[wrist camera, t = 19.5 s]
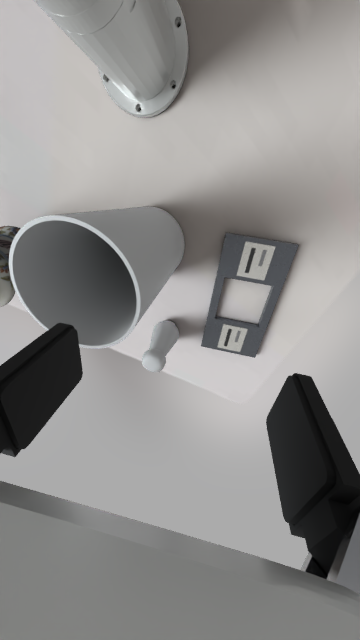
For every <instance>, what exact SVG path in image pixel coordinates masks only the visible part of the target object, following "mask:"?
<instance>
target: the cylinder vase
mask: <svg viewBox="0 0 360 640" xmlns="http://www.w3.org/2000/svg"><path fill="white" fill-rule="evenodd" d="M184 247H185V243H184V236H183V233H182V230H181V228H180V226H179V224H178V223H177V221H176V220H175V219H174V218H173V217H172V216H171V215H170V214H169V213H167V212H166V211H164V210H162V209H160V208H156V207H137V208H126V209H115V210H104V211H94V212H83V213H72V214H61V215H51V216H43V217H39V218H36V219H34V220H32V221H30V222H28V223H27V224H25V225H24V226H23V227H22V228H21V229H20V230H19V231H18V233H17V234H16V236H15V237H14V239H13V242H12V244H11V248H10V253H9V270H10V276H11V280H12V283H13V286H14V289H15V291H16V293H17V295H18V297H19V299H20V301H21V303H22V304H23V306H24V307H25V309H26V310H27V311H28V313H29V314H30V315H31V316H32V317H33V318H34V319H35V321H36V322H37V323H39V324H40V325H41V326H42V327H43V328H44V329H46V330H47V331H48V330H49V329H50V328H52V327H53V326H55V325H56V324H57V323H65V324H69V325H73V326H74V328H75V329H76V330H77V333H78V341H79V347H84V348H93V349H98V348H106V347H110V346H113V345H115V344H118V343H119V342H121V341H123V340H124V339H125V338H126V337H127V336H128V335H129V334H130V333H131V332H132V330H133V329H134V328H135V326H136V325H137V323H138V322H139V320H140V319H141V318H142V316H143V315H144V313H145V312H146V310H147V309H148V308H149V306H150V305H151V303H152V302H153V301H154V299H155V298H156V296H157V295H158V293H159V292H160V291H161V289H162V288H163V286H164V285H165V283H166V282H167V281H168V279H169V278H170V276H171V275H172V274H173V272H174V271H175V269H176V268H177V266H178V265H179V263H180V262H181V260H182V257H183V254H184Z"/></svg>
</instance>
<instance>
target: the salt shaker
mask: <svg viewBox="0 0 360 640" xmlns="http://www.w3.org/2000/svg"><path fill="white" fill-rule="evenodd" d="M178 338H179V330H178V329H177V327H176V325H175V323H173V322H171V321H169V320H166V321H163V322H159V323H158V324H157V325H155V327H154V329H153V333H152V338H151V344H150V348H149V350H148V351H146V352H145V353H144V355H143V358H142V365H143V366H144V367H145V369H147V370H149V371H151V372H159V371H161V370H162V369H163V368H164V366H165V363H166V358H165V356H166V354H167V353H168V352H169V351H170V349H171V348H172V347H173V345H174V344H175V343H176V342H177V340H178Z"/></svg>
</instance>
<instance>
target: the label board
mask: <svg viewBox="0 0 360 640" xmlns="http://www.w3.org/2000/svg"><path fill="white" fill-rule="evenodd" d="M298 246H299V245H297V244H294V243H288V242H282V241H275V240H269V239H263V238H257V237H251V236H245V235H239V234H233V233H226V235H225V239H224V244H223V249H222V253H221V258H220V262H219V267H218V271H217V276H216V280H215V285H214V289H213V294H212V298H211V303H210V307H209V312H208V317H207V321H206V326H205V330H204V335H203V339H202V344H201V346H203V347H207V348H212V349H217V350H221V351H226V352H231V353H235V354H240V355H245V356H250V357H254V358H255V356H256V354H257V351H258V349H259V346H260V343H261V341H262V338H263V336H264V333H265V331H266V328H267V325H268V323H269V320H270V318H271V315H272V313H273V310H274V307H275V305H276V302H277V300H278V297H279V295H280V292H281V289H282V287H283V284H284V282H285V279H286V276H287V274H288V271H289V269H290V266H291V264H292V261H293V258H294V256H295V253H296V251H297V248H298ZM225 277H226V278H232V279H237V280H243V281H248V282H254V283H259V284H265V285H270V286H272V287H271V290H270V292H269V295H268V298H267V301H266V303H265V306H264V309H263V312H262V315H261V317H260V320H259V323H258V325H257V324H252V323H247V322H242V321H237V320H232V319H227V318H222V317H217V316H215V315H216V311H217V307H218V303H219V299H220V295H221V291H222V286H223V282H224V278H225Z"/></svg>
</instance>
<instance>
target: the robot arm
mask: <svg viewBox="0 0 360 640" xmlns="http://www.w3.org/2000/svg"><path fill="white" fill-rule="evenodd" d="M33 1H34V2H35V3H36V4H37V5H38V6H39V7H40V8H41V9H42V10H43V11H44V12H45V13H46V14H47V15H48V16H49V17H50V18H51V19H52V20H53V21H54V22H55V23H56V24H57V25H58V26H59V27H60V28H61V29H62V30H63V31H64V33H65V34H66V35H67V36H68V37H69V38H70V39H71V40H72V41H73V42H74V43H75V44H76V45H77V46H78V47H79V48H80V49H81V50H82V51H83V52H84V53H85V54H86V55H87V56H88V58H89V59H90V60H91V61H92V62H93V63H94V64H95V65H96V66H97V67H98V71H99V75H100V77H101V80H102V83H103V85H104V87H105V89H106V91H107V93H108V94H109V96H110V97H111V98H112V100H113V101H114V102H115V103H116V104H117V105H118V106H119V107H120V108H121V109H122V110H124V111H125V112H126V113H128V114H130V115H133V116H135V117H140V118H147V117H152V116H155V115H158V114H159V113H161V112H162V111H164V110H165V109H166V108H167V107H168V106H169V105H170V104H171V103H172V102H173V101H174V99H175V98H176V96H177V95H178V93H179V91H180V88H181V86H182V84H183V81H184V78H185V74H186V70H187V64H188V50H189V45H188V34H187V29H186V24H185V20H184V17H183V13H182V10H181V7H180V5H179V3H178V1H177V0H33ZM179 24H180V25H181V26H180V27H179V28H177V27H178V25H179ZM108 79H109V81H108ZM174 85H175V86H176V88H175V89H173V86H174ZM140 108H141V111H140V112H139V109H140ZM82 374H83V372H82V364H81V356H80V348H79V341H78V333H77V330H76V329H75V328H74V326H73V325H69V324H65V323H57V324H56V325H55V326H53V327H52V328H50V329H49V330H48V331H46V332H45V333H44V334H42V335H41V336H40V337H38V338H37V339H36V340H34V341H33V342H32V343H30V344H29V345H28V346H26V347H25V348H23V349H22V350H21V351H20V352H18V353H17V354H16V355H14V356H13V357H11V358H10V359H9V360H7V361H6V362H5V363H3V364H2V365H1V366H0V453H1V452H2V453H3V454H6V455H10V456H13V457H16V455H17V454H18V453H19V452H20V450H21V449H25V448H26V447H27V446H28V445H29V444H30V443H31V442H32V440H33V439H34V438H35V437H36V435H37V434H38V433H39V432H40V430H41V429H42V428H43V427H44V425H45V424H46V423H47V422H48V420H49V419H50V418H51V417H52V415H53V414H54V412H56V410H57V409H58V408H59V406H60V405H61V404H62V403H63V401H64V400H65V399H66V398H67V396H68V395H69V394H70V393H71V391H72V390H73V389H74V388H75V386H76V385H77V384H78V383H79V381H80V380H81V378H82ZM266 423H267V431H268V436H269V441H270V447H271V452H272V458H273V463H274V468H275V474H276V479H277V485H278V490H279V495H280V501H281V506H282V512H283V516H284V519H285V521H286V522H287V523H289V526H290V530H291V534H292V535H295V536H298V537H302V538H305V540H306V543H307V548H308V551H309V553H308V555H307V557H306V559H305V562H304V564H303V566H302V568H301V570H298V569H295V568H291V567H288V566H285V565H282V564H279V563H276V562H273V561H269V560H267V559H263V558H260V557H257V556H254V555H250V554H248V553H244V552H241V551H237V550H234V549H231V548H227V547H224V546H221V545H217V544H214V543H211V542H207V541H204V540H201V539H197V538H194V537H190V536H187V535H184V534H181V533H177V532H174V531H170V530H167V529H164V528H160V527H157V526H153V525H150V524H147V523H143V522H140V521H137V520H133V519H129V518H126V517H123V516H119V515H116V514H113V513H109V512H106V511H102V510H99V509H96V508H92V507H89V506H85V505H82V504H78V503H75V502H71V501H68V500H65V499H61V498H58V497H54V496H51V495H47V494H44V493H40V492H37V491H33V490H30V489H26V488H23V487H19V486H16V485H13V484H9V483H6V482H2V481H0V640H360V474H359V472H358V470H357V468H356V466H355V464H354V462H353V460H352V458H351V456H350V454H349V452H348V450H347V448H346V446H345V444H344V442H343V439H342V438H341V436H340V433H339V431H338V429H337V427H336V425H335V423H334V421H333V419H332V418H331V416H330V414H329V412H328V410H327V408H326V406H325V404H324V402H323V400H322V398H321V396H320V394H319V391H318V389H317V388H316V386H315V383H314V381H313V379H312V378H311V377H310V376H306V375H302V374H297V373H295V374H293V375H292V376H288V378H287V379H286V381H285V383H284V385H283V387H282V389H281V391H280V393H279V395H278V397H277V399H276V401H275V403H274V405H273V407H272V409H271V410H270V412H269V415H268V416H267V422H266Z"/></svg>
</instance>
